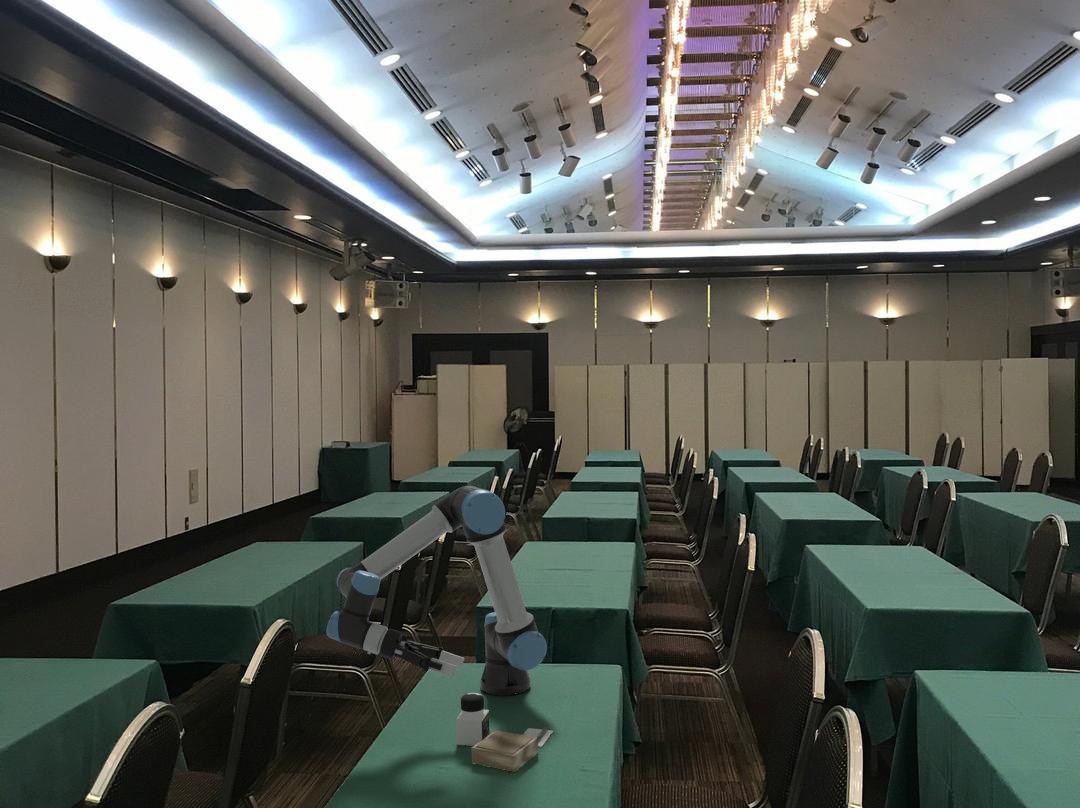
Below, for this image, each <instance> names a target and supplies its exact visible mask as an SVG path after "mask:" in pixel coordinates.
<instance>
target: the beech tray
mask: <svg viewBox="0 0 1080 808" xmlns="http://www.w3.org/2000/svg"><path fill="white" fill-rule="evenodd" d="M538 750H539V747H538V743H537V738H536V737H530V736H525V735H523V734H518V733H514V732H510V731H509V732H508V731H504V730H497V729H495V730H494V731H493V732H491V733H490V735H488V736H487V737H486V738H484V739H483V740H482V741H480V742H479V743H477V744H476V745H475V746H471V764H472V763H475V764H474V765H476V764H480V765H485V766H490V767H494V768H500V769H505V770H508V771H512V772H511V773H513V772H515V771H516V770H517V769H518V770H520V769H521V768H522V767H523V766H524V765H523V764H525V763H526V762H527V761H528V760H529V761H530V759H531V758H532V757H533V758H534V757H536V756H537V755H538V754H539V753H538ZM537 753H538V754H537ZM536 754H537V755H536ZM533 758H532V759H533ZM532 759H531V760H532ZM529 761H528V762H529ZM528 762H527V763H528ZM527 763H526V764H527ZM526 764H525V765H526ZM480 765H479V766H480ZM522 765H523V766H522ZM485 766H484V767H485ZM521 766H522V767H521ZM490 767H489V768H490ZM520 767H521V768H520ZM494 768H493V769H494ZM519 768H520V769H519ZM518 770H517V771H518ZM508 771H507V772H508ZM517 771H516V772H517ZM516 772H515V773H516Z"/></svg>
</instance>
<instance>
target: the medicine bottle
mask: <svg viewBox="0 0 1080 808" xmlns="http://www.w3.org/2000/svg"><path fill="white" fill-rule="evenodd" d="M455 729H456V730H455V733H456V735H455V736H456V745H457V746H465V745H466V747H473V746H475V745H476V744H477V743H479V742H480V741H482V740H483V739H484V738H486V737H487V736H488V735H490V734H491V733H490V710H489V709H485V697H484V695H482V694H481V693H477V692H469V693H465V694H463V695H462V696H461V698H460V713H459V714H458V716H457V717H456V718H455Z"/></svg>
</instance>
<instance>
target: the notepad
mask: <svg viewBox="0 0 1080 808" xmlns="http://www.w3.org/2000/svg"><path fill="white" fill-rule="evenodd" d="M551 734H552V735H553V734H554V730H549V729H548V727H543V728H542V729H541V728H529V727H528V728H527V729H526V730H525V731H524V733H523V734H522V735H525V736H530V737H536V738H537V743H538V746H539V747H538V748H541V747H542V746H543V745H544V746H545V744H546V743H547V742H548V740H549V739H550V737H551V736H552V735H551ZM550 735H551V736H550ZM548 738H549V739H548ZM546 741H547V742H546ZM545 742H546V743H545ZM544 743H545V744H544ZM544 746H543V747H544ZM543 747H542V748H543Z"/></svg>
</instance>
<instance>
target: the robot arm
mask: <svg viewBox="0 0 1080 808" xmlns="http://www.w3.org/2000/svg"><path fill="white" fill-rule="evenodd" d="M505 507H506V506H505V505H504V502H503V501H502V500H501V498H500V497H499V496H498V495H496V493H494V492H493V491H490V490H488V489H485V488H484V489H483V488H480V487H478V486H475V485H464V486H461V487H458V488H457V489H455V490H453V491H452V492H450V493H449V494H448V495H446V496H444V498H442V499H440V500H439V501H438V502H436V503H435V504H433V505H432V508H431V510H430V511H429V512H428V513H426V515H424V516H422V518H420V519H418V520H417V521H416V522H414V523H413V524H412V525H410V526H408V527H407V528H406V529H404V530H403V531H401V532H400V533H399V534H398V535H396V536H395V537H394V538H392V539H391V540H389V541H388V542H387V543H386V544H385V543H384V545H382V546H381V547H379V548H378V549H376V551H374V552H373V553H371V554H370V555H369V556H367V557H366V558H364V559H363V560H362V561H360V562H359V563H357V564H356V565H354V566H353V567H346V568H344V569H342V570H341V571H340V572H339V573H338V575H337V577H336V586H337V588H338V591H339V593H341V594H342V595H343V596H344V597H345V600H344V604H343V606H342V609H341V610H335V611H334V612H333V613H332V614H331V616H330V619H329V620H328V622H327V625H326V631H325V633H326V636H327V637H328V638H329V639H332V640H334V641H337V642H339V643H341V644H344V645H347V646H349V647H354V648H357V649H359V650H363V651H365V652H366V651H367V652H366V653H367V654H368V655H371V654H374V655H380V657H382V658H385V659H389V660H393V659H394V658H396V657H397V658H400V659H403V660H404V661H406V662H409V663H410V664H413V665H415V666H416V667H419V668H420V669H422V670H423V671H424V672H428V670H432V671H435V672H439V673H441V674H444V675H447V676H450V677H454V674H455V671H456V668H459V669H462V667H463V665H464V661H465V657H462V656H461V655H460V656H459V655H457V654H454V653H451V652H448V651H445V650H443V649H444V647H442V646H439V647H437V646H432V645H429V644H424V643H420V642H417V641H413V640H410V639H406V641H403V640H402V638H403V632H402V631H400V630H397V629H393V628H389V629H388V626H386V625H382V624H379V623H376V622H373V621H370V620H369V618H370V615H371V613H372V610H373V607H374V604H375V600H376V598H377V595H378V594H379V591H380V584H381V581H382V580H383V579H384V578H385V577H386V576H388V575H389V574H390V573H393V572H395V570H396V569H397V568H399V567H400V566H402V565H403V564H405V563H406V562H407V561H408V560H411V558H412V557H414V556H415V555H417V554H419V553H420V552H421V551H422V550H424V549H425V548H427V547H428V546H429V545H431V544H432V543H434V542H435V541H436V540H438V539H439V538H441V537H442V536H443V535H445V534H446V533H454V532H455V531H456V530H457V529H459V528H461V527H462V529H463V533H464V536H465V539H466V542H467V543H469V544H471V545H473V547H474V548H475V553H476V556H477V559H478V562H479V565H480V568H481V572H482V574H483V578H484V582H485V584H486V587H487V592H488V594H489V597H490V600H491V603H492V606H493V610H494V612H490V613H487V614H486V615H485V618H484V625H483V626H484V640H485V641H484V643H485V644H484V645H485V646H484V647H485V648H484V649H485V651H484V652H485V664H484V668H483V671H482V675H481V678H480V690H481V692H483V691H484V693H485V692H486V694H488V693H489V694H488V695H492V694H493V696H510V695H509V694H515V693H519V694H521V693H520V692H522V693H525V692H526V690H527V689H528V690H529V689H530V688H531V677H530V675H529V673H528V671H530V670H532V669H535V668H537V667H538V666H539V665H541V663H542V662H543V661H544V658H545V656H546V654H547V650H548V648H547V647H548V646H547V645H548V644H547V641H546V639H545V637H544V635H543V634H542V633H540V631H538V628H537V625H536V624H537V623H536V621H535V618H534V615H533V614H532V613H530V612H527V610H526V609H527V608H526V607H525V603H524V599H523V597H522V593H521V589H520V587H519V584H518V581H517V578H516V577H517V576H516V573H515V571H514V568H513V564H512V560H511V558H510V555H509V552H508V549H507V545H506V542H505V539H504V535H505V533H506V531H507V527H506V524H505V519H506V508H505ZM528 690H527V691H528ZM524 691H525V692H524ZM494 694H495V695H494ZM515 695H516V694H515Z"/></svg>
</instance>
